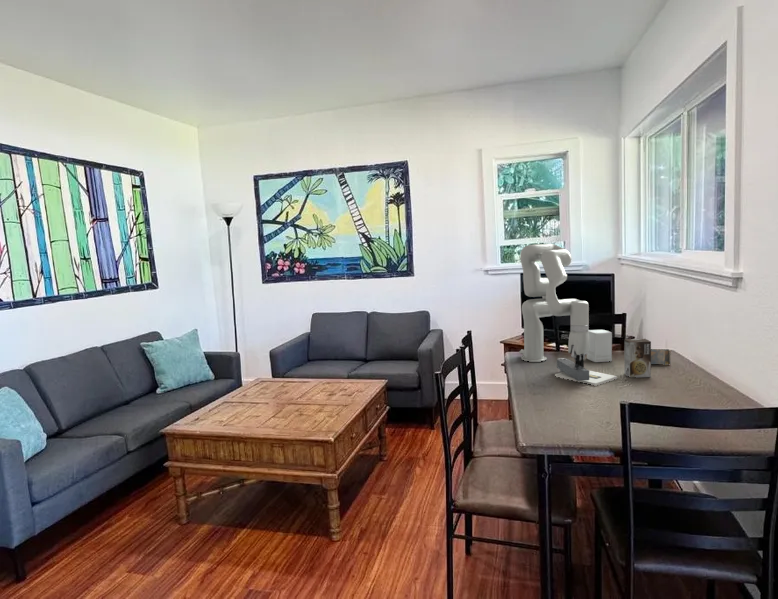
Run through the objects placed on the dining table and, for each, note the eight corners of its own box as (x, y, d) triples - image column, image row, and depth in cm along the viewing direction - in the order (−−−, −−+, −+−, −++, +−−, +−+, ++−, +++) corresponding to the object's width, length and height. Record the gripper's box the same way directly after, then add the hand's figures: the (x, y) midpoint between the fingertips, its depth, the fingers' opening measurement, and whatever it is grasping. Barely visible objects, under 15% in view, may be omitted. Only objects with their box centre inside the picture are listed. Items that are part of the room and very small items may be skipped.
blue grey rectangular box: (644, 365, 228) (644, 346, 226) (642, 364, 230) (643, 344, 229) (670, 366, 224) (671, 346, 223) (668, 364, 227) (669, 345, 226)
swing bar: (555, 366, 222) (555, 358, 222) (565, 366, 222) (565, 357, 222) (577, 380, 198) (577, 371, 198) (589, 380, 198) (589, 370, 198)
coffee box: (644, 373, 213) (645, 338, 211) (651, 377, 207) (651, 341, 205) (623, 373, 214) (624, 338, 212) (629, 377, 208) (629, 341, 206)
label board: (549, 375, 217) (549, 370, 217) (570, 369, 226) (570, 364, 226) (595, 386, 198) (595, 380, 198) (617, 378, 207) (617, 373, 206)
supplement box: (612, 361, 236) (612, 332, 235) (595, 362, 236) (595, 333, 234) (603, 357, 245) (603, 329, 244) (586, 358, 245) (586, 330, 243)
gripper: (581, 325, 218) (581, 364, 220) (562, 329, 209) (562, 370, 211) (596, 327, 212) (596, 367, 214) (577, 331, 203) (577, 373, 205)
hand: (579, 368), depth 212 cm, fingers closed
